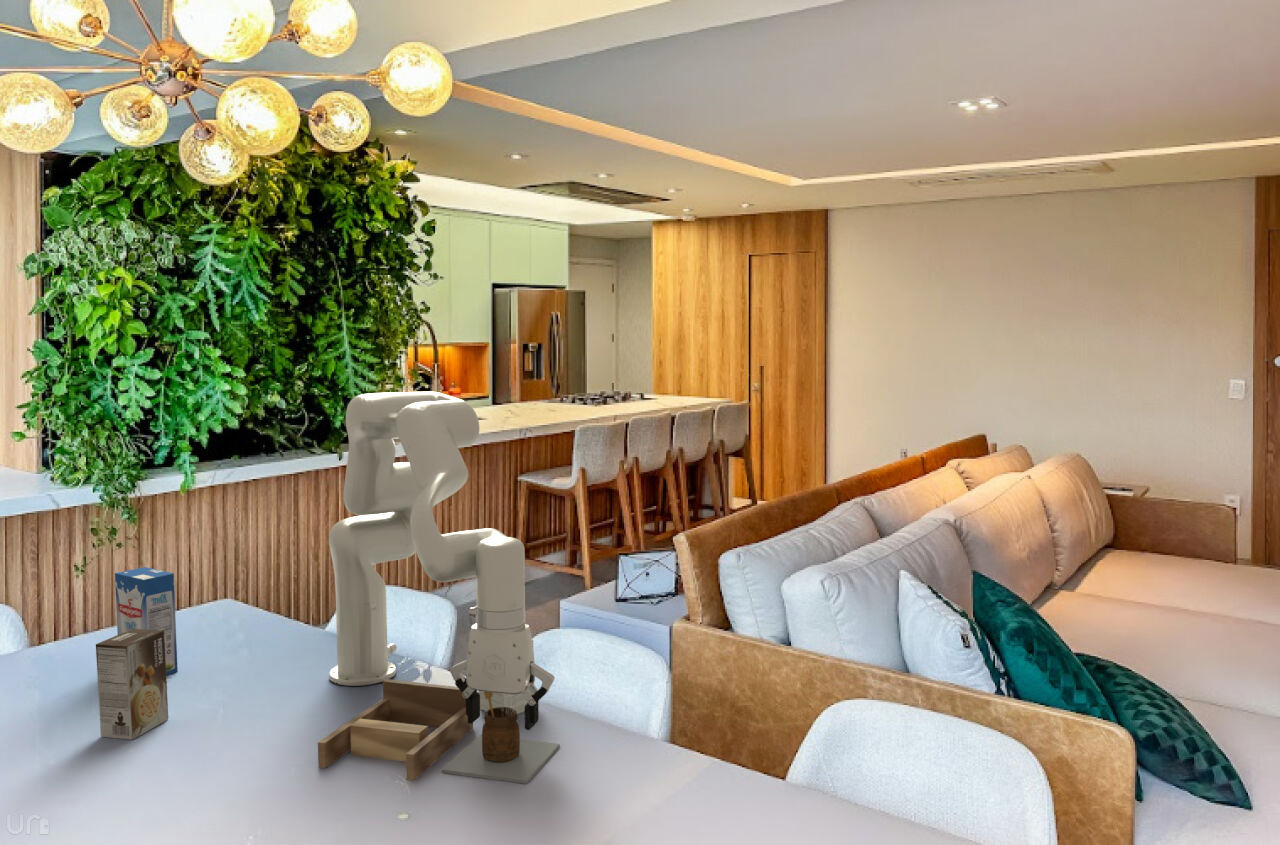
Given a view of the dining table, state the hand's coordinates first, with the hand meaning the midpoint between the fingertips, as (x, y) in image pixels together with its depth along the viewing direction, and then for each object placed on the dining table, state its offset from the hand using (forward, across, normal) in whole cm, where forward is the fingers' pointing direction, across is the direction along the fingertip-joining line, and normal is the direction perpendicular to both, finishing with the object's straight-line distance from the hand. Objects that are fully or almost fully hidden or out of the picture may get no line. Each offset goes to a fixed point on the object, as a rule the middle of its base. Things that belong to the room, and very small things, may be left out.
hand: (502, 723), depth 156 cm
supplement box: (+6, -8, +20) cm, 22 cm away
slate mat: (+6, 0, 0) cm, 6 cm away
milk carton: (+6, -84, +18) cm, 86 cm away
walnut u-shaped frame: (+6, -18, -1) cm, 19 cm away
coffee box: (+6, -65, -6) cm, 66 cm away
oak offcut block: (+6, -18, -4) cm, 19 cm away
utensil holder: (+6, 0, 0) cm, 6 cm away
